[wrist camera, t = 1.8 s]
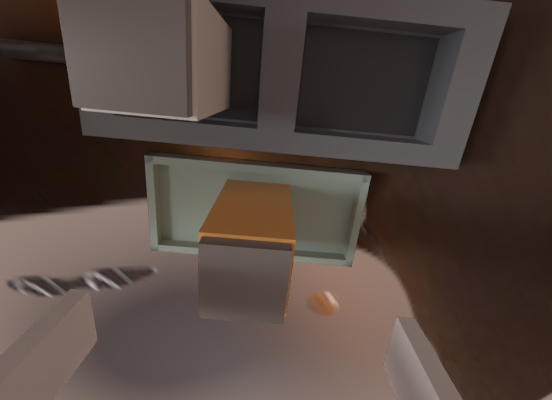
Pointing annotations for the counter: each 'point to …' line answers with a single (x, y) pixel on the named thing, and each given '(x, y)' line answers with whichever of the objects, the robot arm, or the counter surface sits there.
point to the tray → (215, 171)
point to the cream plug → (147, 57)
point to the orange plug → (247, 253)
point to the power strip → (334, 80)
